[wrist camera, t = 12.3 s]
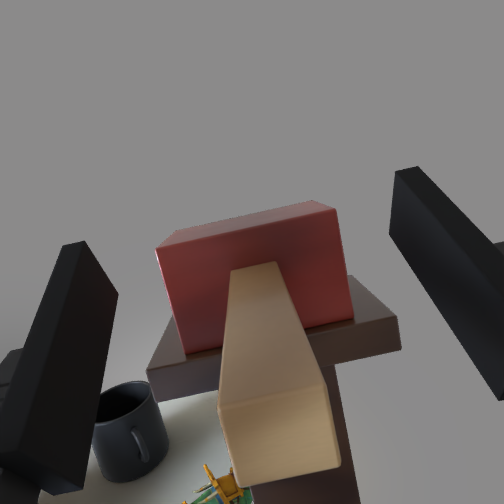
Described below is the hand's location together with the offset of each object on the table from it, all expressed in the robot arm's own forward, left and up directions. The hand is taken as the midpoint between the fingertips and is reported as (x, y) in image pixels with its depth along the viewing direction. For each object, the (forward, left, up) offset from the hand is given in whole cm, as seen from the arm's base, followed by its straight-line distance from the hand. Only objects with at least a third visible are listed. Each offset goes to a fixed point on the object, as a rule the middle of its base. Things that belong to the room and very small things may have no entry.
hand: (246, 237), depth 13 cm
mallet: (0, -1, -4) cm, 4 cm away
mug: (-22, +32, -33) cm, 51 cm away
